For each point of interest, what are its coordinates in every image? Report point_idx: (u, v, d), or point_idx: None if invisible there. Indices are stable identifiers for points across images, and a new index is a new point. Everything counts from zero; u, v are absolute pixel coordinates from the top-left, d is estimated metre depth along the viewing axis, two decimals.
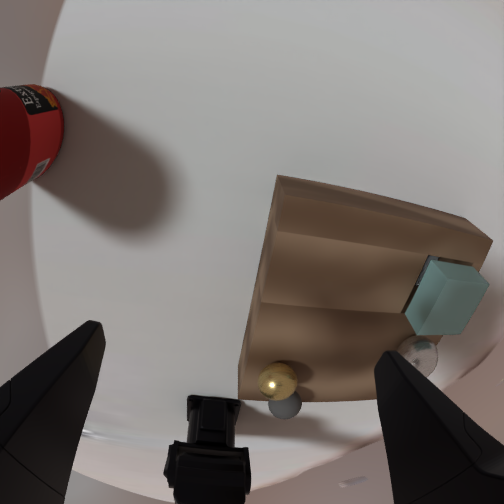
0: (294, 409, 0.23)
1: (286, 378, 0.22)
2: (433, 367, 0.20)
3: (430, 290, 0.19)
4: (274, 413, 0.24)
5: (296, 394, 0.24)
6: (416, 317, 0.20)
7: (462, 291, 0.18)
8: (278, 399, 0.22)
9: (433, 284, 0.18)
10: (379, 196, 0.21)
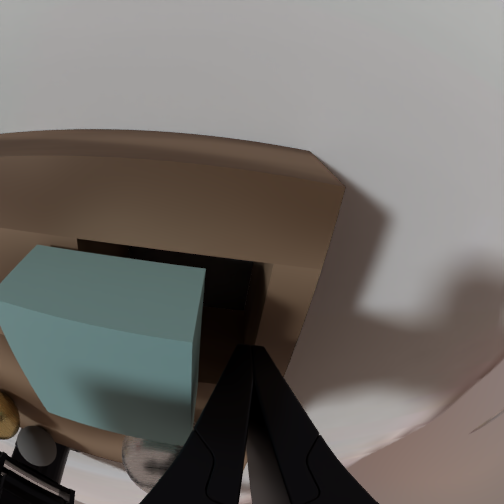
0: (33, 457, 0.12)
1: None
2: None
3: None
4: None
5: (38, 439, 0.13)
6: None
7: (68, 346, 0.05)
8: None
9: None
10: (53, 131, 0.09)
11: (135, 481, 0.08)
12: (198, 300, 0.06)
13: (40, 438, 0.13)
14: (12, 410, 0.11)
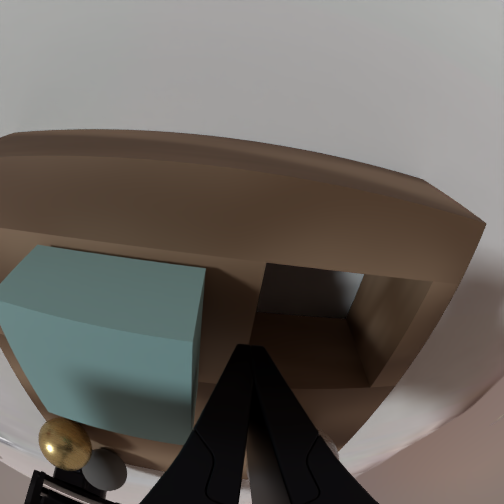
0: (105, 483, 0.12)
1: (59, 446, 0.10)
2: None
3: None
4: None
5: (110, 464, 0.13)
6: None
7: (69, 346, 0.06)
8: (61, 468, 0.10)
9: None
10: (174, 134, 0.10)
11: None
12: (198, 300, 0.06)
13: (112, 462, 0.13)
14: (86, 438, 0.12)
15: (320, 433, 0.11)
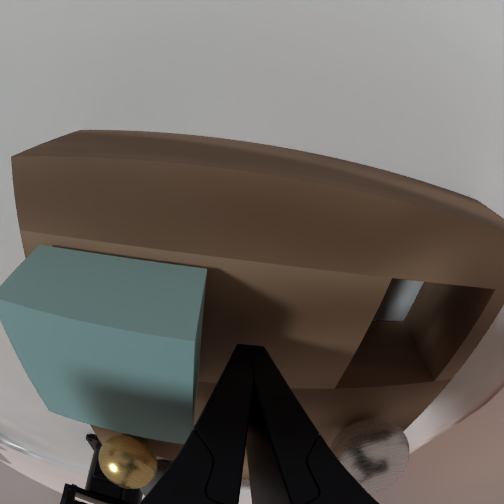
0: None
1: (127, 466, 0.11)
2: (395, 478, 0.09)
3: None
4: (143, 493, 0.13)
5: None
6: None
7: (71, 345, 0.06)
8: None
9: None
10: (282, 149, 0.10)
11: None
12: (200, 300, 0.07)
13: None
14: (153, 454, 0.12)
15: (395, 425, 0.11)
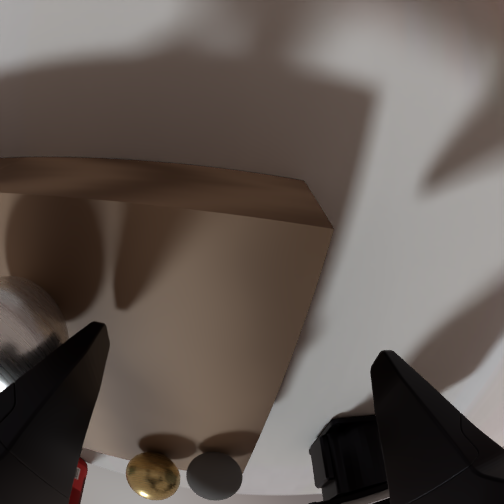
0: (198, 491, 0.12)
1: (127, 479, 0.12)
2: None
3: None
4: None
5: (190, 466, 0.13)
6: None
7: None
8: (156, 499, 0.12)
9: None
10: None
11: None
12: None
13: (192, 464, 0.13)
14: (141, 458, 0.13)
15: None
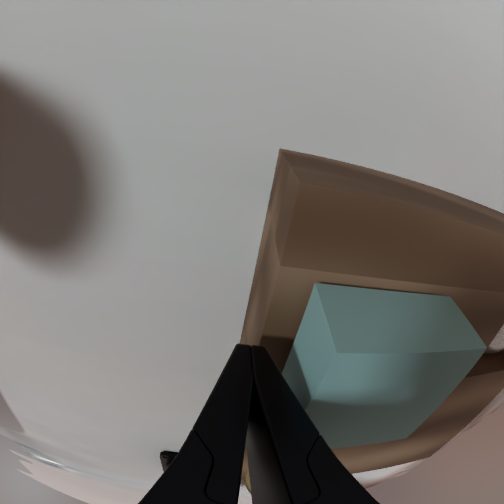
0: None
1: None
2: None
3: (305, 365, 0.08)
4: None
5: None
6: None
7: (403, 376, 0.06)
8: None
9: (311, 353, 0.07)
10: (451, 195, 0.11)
11: None
12: (467, 320, 0.07)
13: None
14: None
15: None
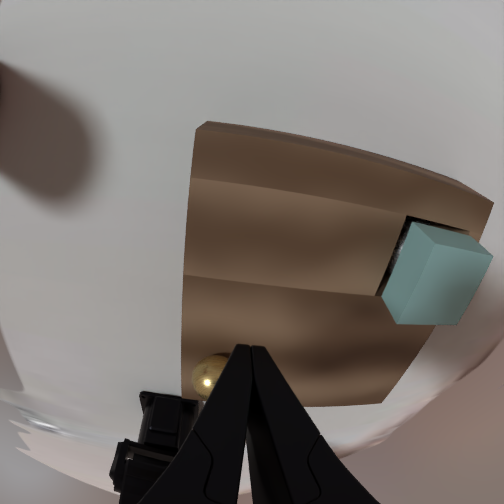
0: None
1: None
2: None
3: (412, 262, 0.14)
4: None
5: None
6: (395, 300, 0.15)
7: (457, 264, 0.13)
8: None
9: (416, 253, 0.14)
10: (340, 144, 0.17)
11: None
12: None
13: None
14: None
15: None
